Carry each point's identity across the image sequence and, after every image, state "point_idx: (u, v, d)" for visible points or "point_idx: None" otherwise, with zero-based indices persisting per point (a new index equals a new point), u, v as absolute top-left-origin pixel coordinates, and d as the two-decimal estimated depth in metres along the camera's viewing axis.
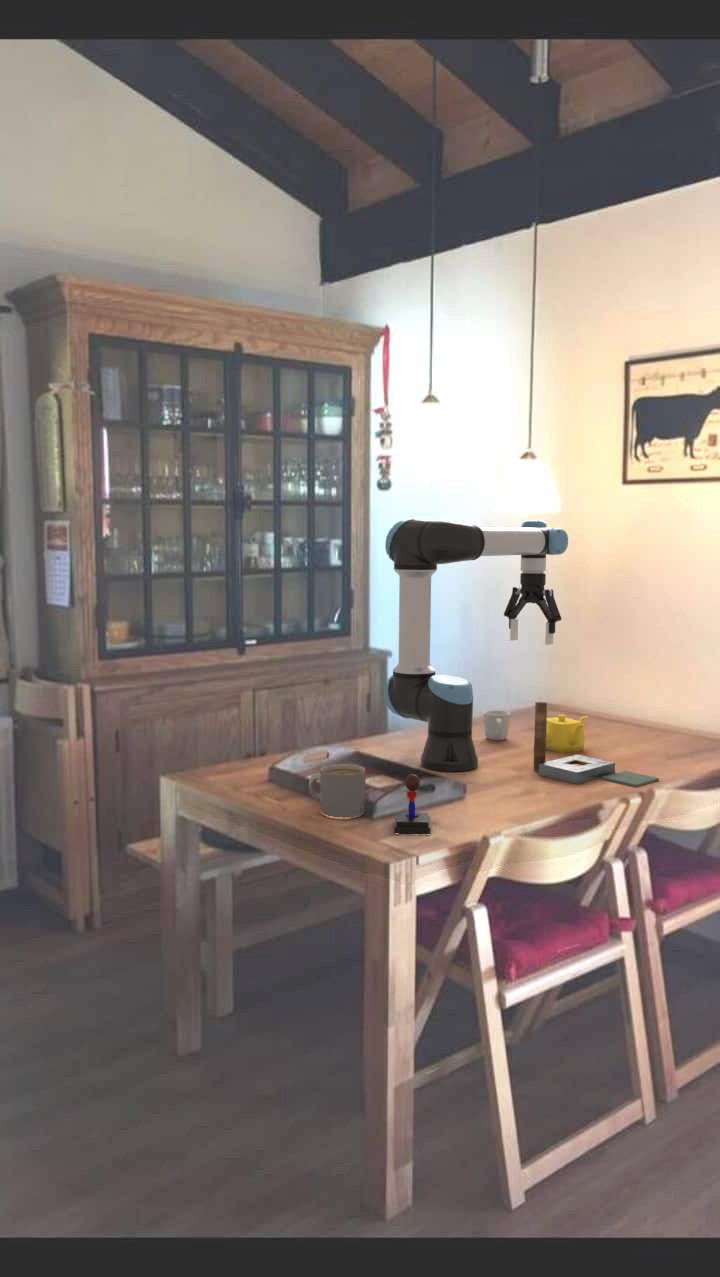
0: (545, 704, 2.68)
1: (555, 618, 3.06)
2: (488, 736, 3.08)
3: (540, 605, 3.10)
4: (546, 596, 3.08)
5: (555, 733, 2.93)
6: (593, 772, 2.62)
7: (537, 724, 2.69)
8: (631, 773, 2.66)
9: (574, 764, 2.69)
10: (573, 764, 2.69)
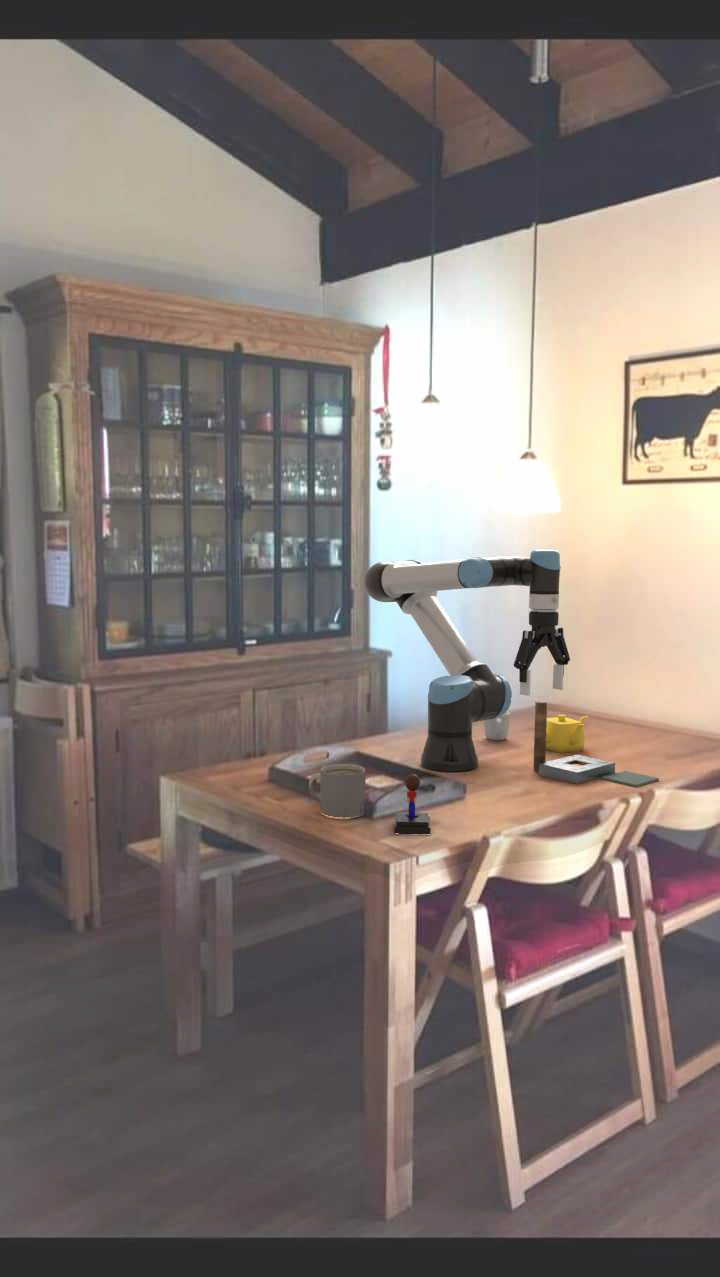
0: (545, 704, 2.68)
1: None
2: (488, 736, 3.08)
3: None
4: None
5: (555, 733, 2.93)
6: (593, 772, 2.62)
7: (537, 724, 2.69)
8: (631, 773, 2.66)
9: (574, 764, 2.69)
10: (573, 764, 2.69)
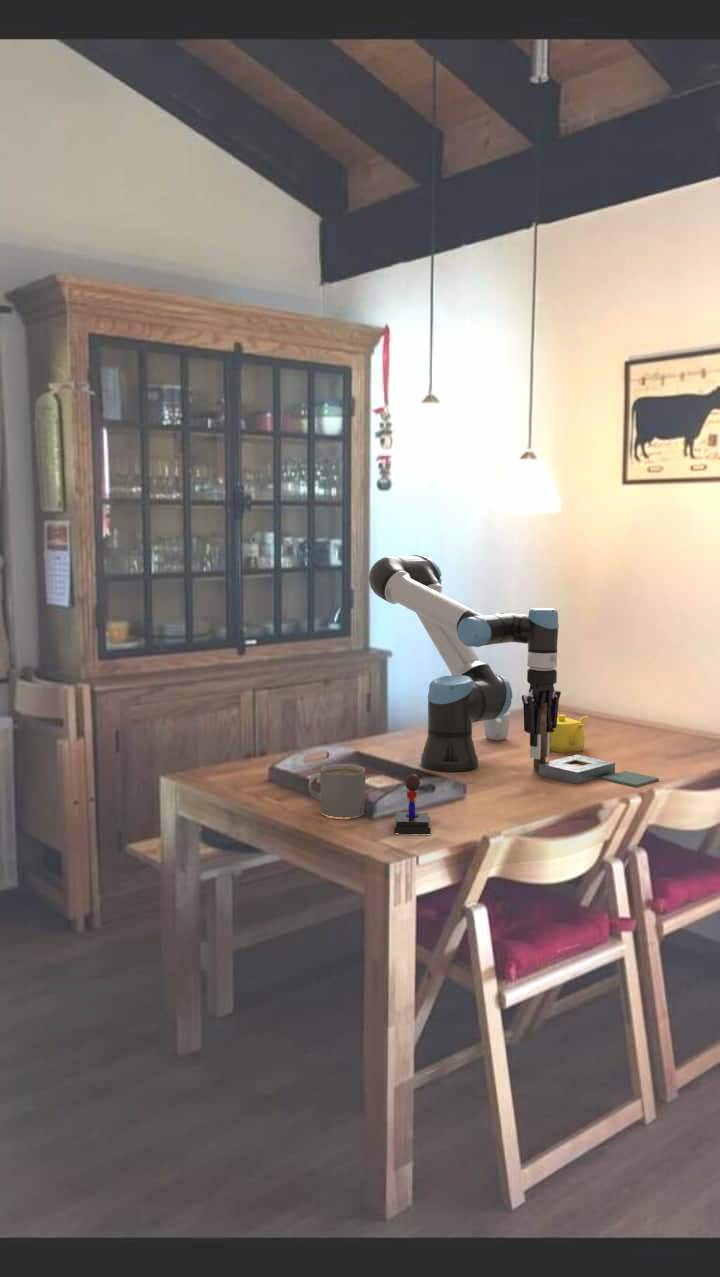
0: (545, 704, 2.68)
1: None
2: (488, 736, 3.08)
3: None
4: None
5: (555, 733, 2.93)
6: (593, 772, 2.62)
7: None
8: (631, 773, 2.66)
9: (574, 764, 2.69)
10: (573, 764, 2.69)
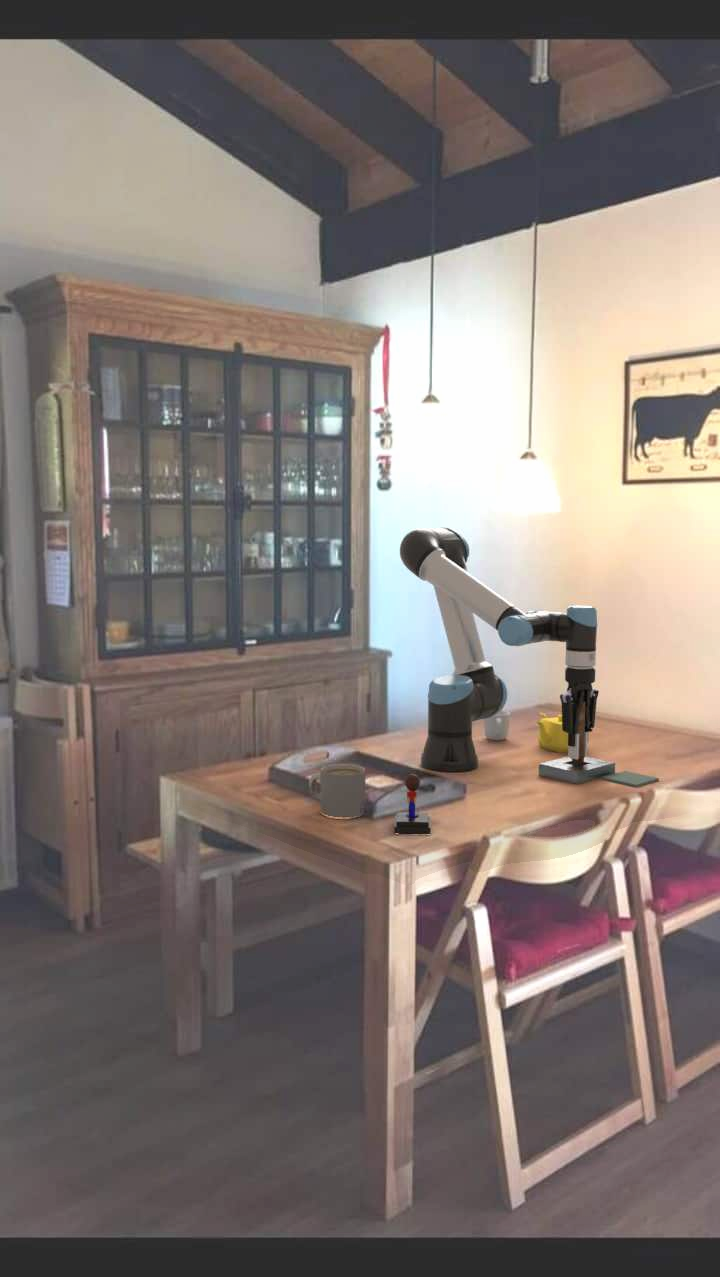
0: (584, 703, 2.64)
1: None
2: (488, 736, 3.08)
3: None
4: None
5: (555, 733, 2.93)
6: (593, 772, 2.62)
7: None
8: (631, 773, 2.66)
9: None
10: None
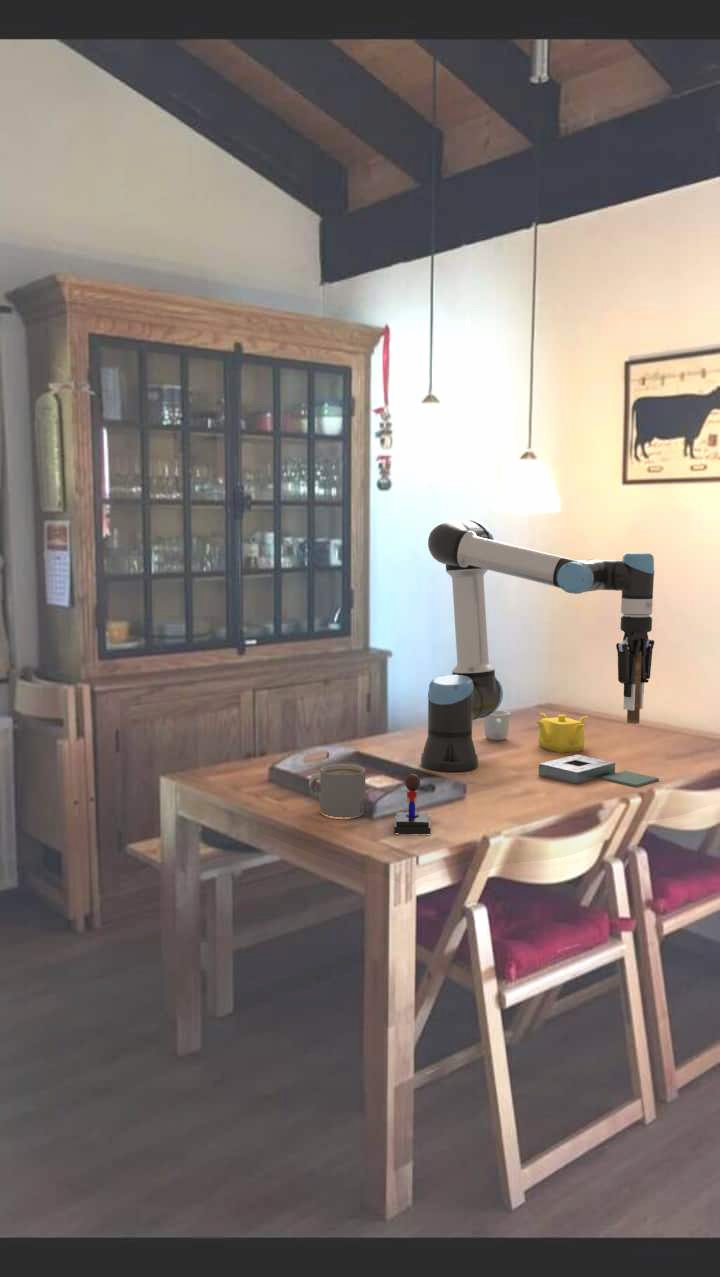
0: (640, 653, 2.57)
1: None
2: (488, 736, 3.08)
3: None
4: None
5: (555, 733, 2.93)
6: (593, 772, 2.62)
7: None
8: (631, 773, 2.66)
9: None
10: None
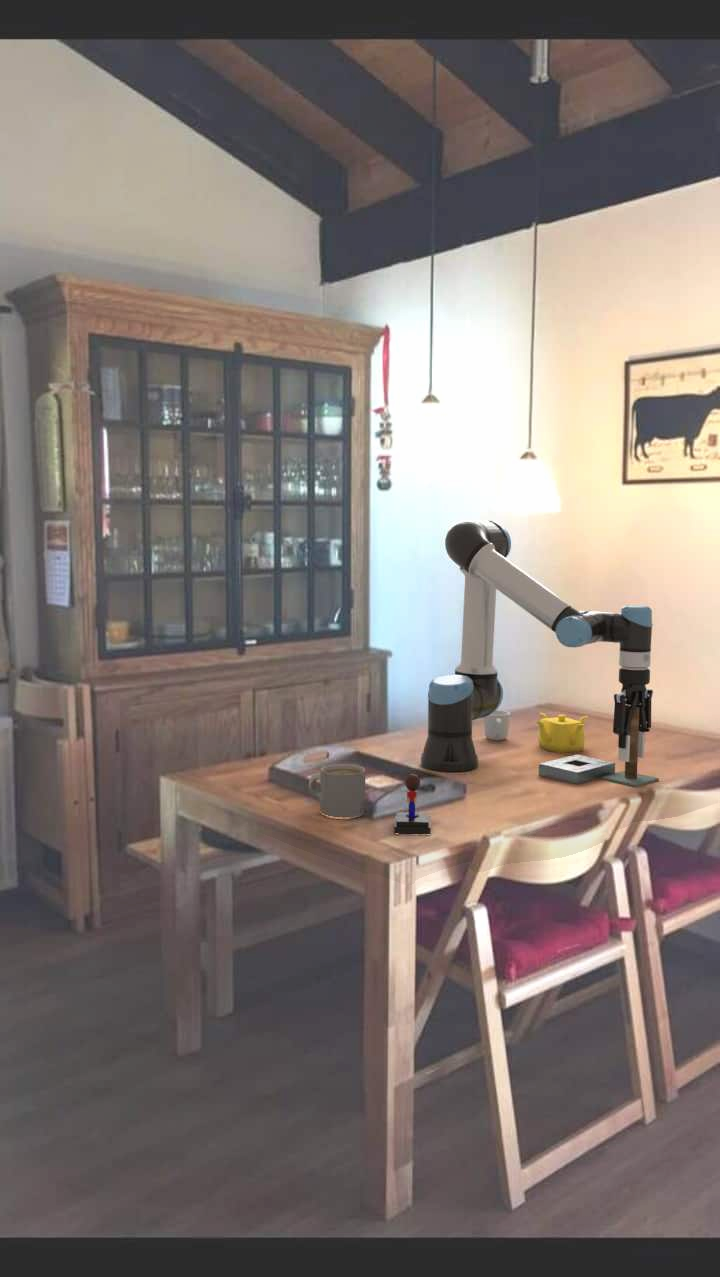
0: (638, 709, 2.59)
1: None
2: (488, 736, 3.08)
3: None
4: None
5: (555, 733, 2.93)
6: (593, 772, 2.62)
7: (629, 729, 2.60)
8: None
9: None
10: None
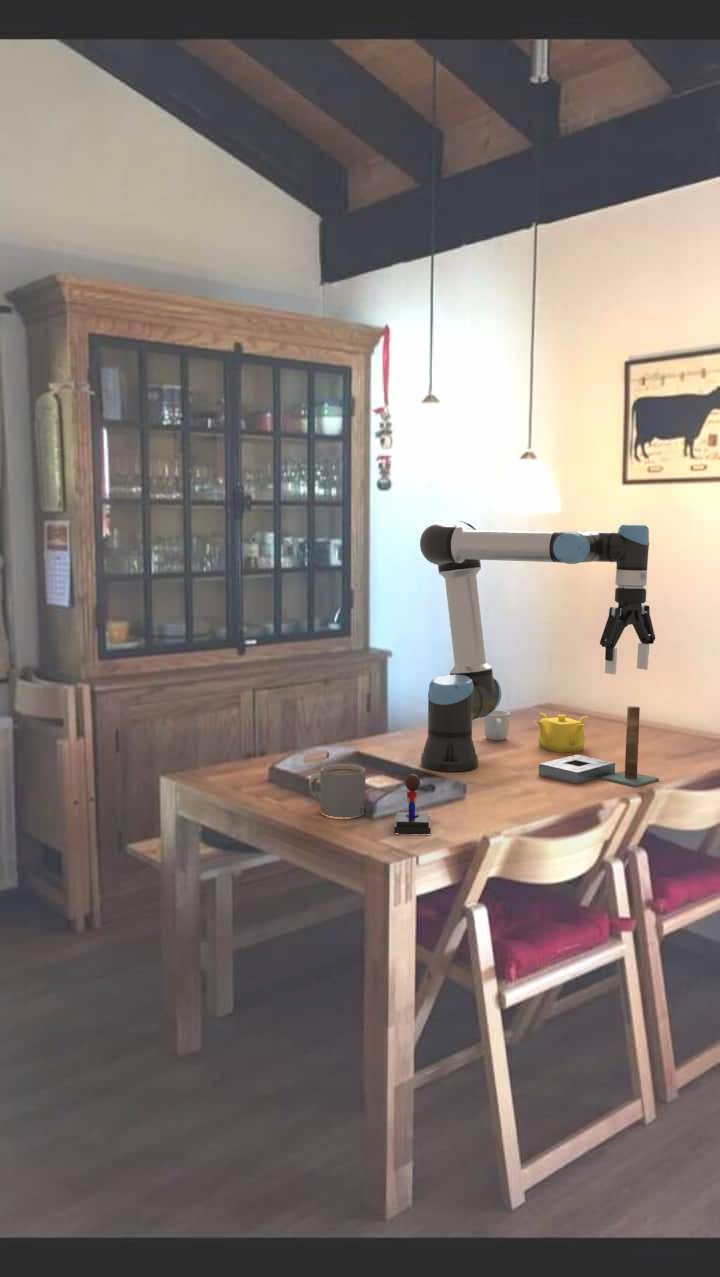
0: (638, 709, 2.59)
1: None
2: (488, 736, 3.08)
3: None
4: None
5: (555, 733, 2.93)
6: (593, 772, 2.62)
7: (629, 729, 2.60)
8: None
9: None
10: None
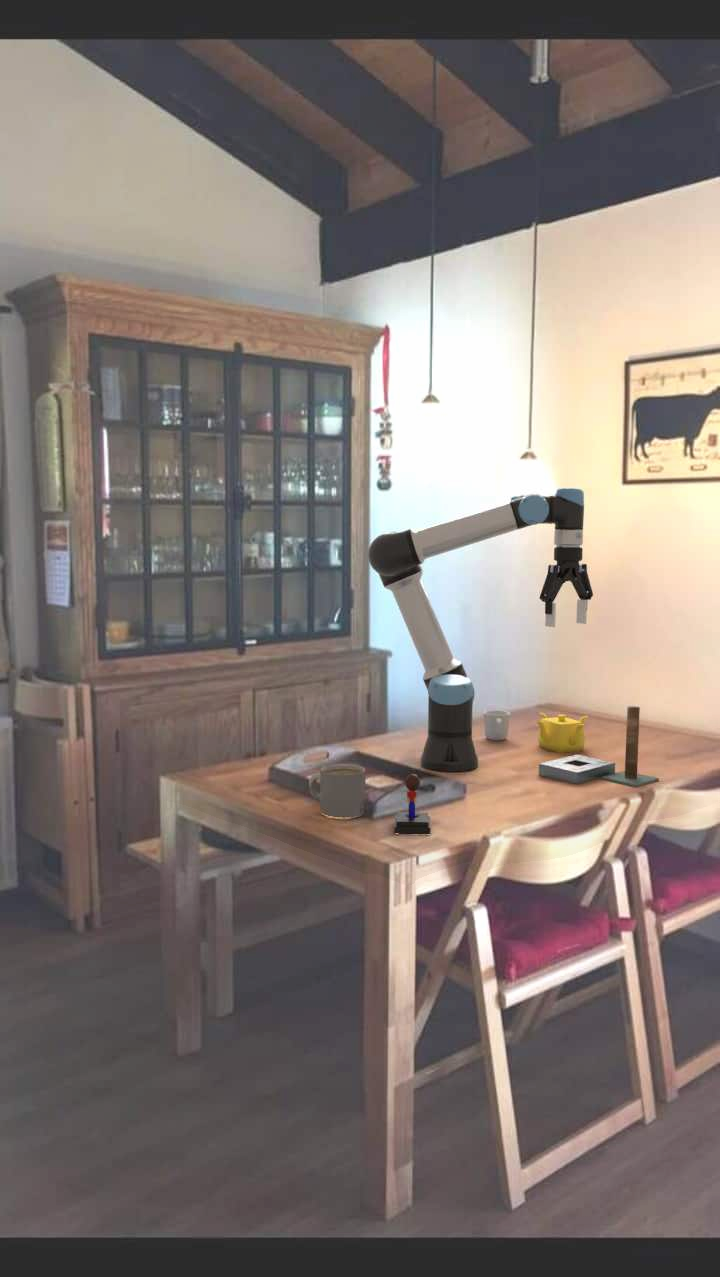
0: (638, 709, 2.59)
1: (540, 596, 2.75)
2: (488, 736, 3.08)
3: None
4: None
5: (556, 733, 2.93)
6: (593, 772, 2.62)
7: (629, 729, 2.60)
8: None
9: None
10: None
